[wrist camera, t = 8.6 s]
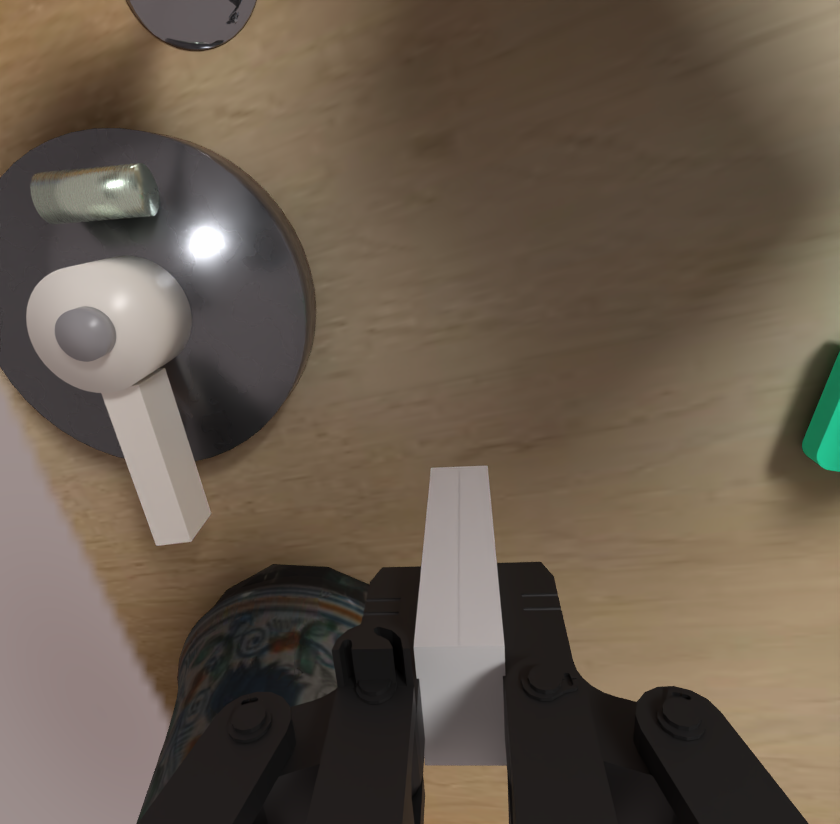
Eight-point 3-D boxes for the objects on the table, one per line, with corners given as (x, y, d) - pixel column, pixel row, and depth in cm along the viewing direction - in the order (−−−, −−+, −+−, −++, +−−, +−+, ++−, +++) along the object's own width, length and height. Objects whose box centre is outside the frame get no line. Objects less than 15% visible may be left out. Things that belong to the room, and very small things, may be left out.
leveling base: (-36, 148, 33) (-123, 142, 28) (290, 117, 32) (260, 105, 27) (59, 451, 39) (2, 490, 34) (335, 435, 38) (317, 473, 33)
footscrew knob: (63, 265, 32) (-7, 280, 27) (172, 246, 31) (121, 258, 26) (152, 515, 37) (107, 566, 32) (247, 503, 36) (216, 553, 31)
